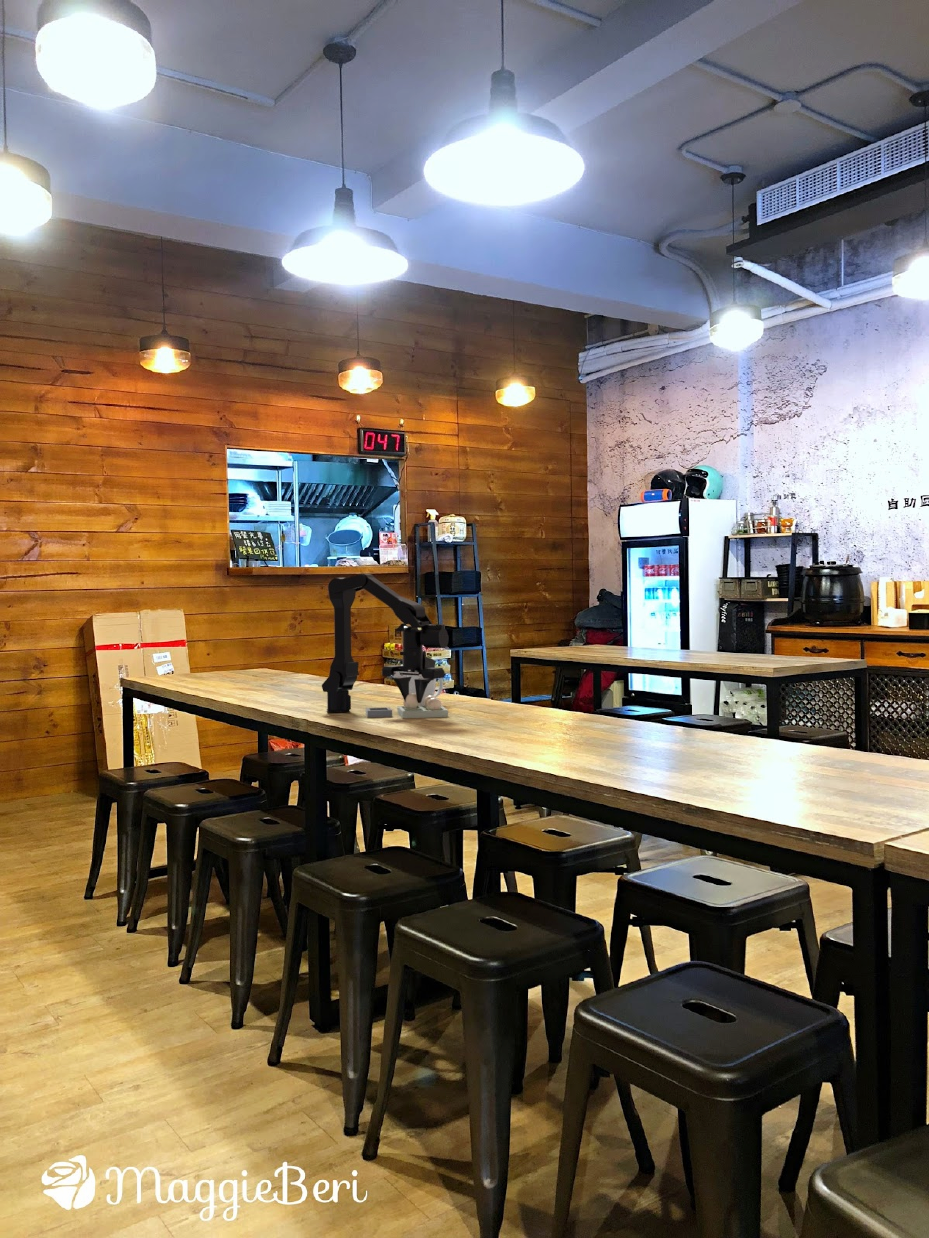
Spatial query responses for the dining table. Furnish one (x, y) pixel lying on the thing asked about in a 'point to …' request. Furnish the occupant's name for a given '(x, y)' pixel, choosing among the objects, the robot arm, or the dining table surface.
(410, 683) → the mug
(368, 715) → the dish
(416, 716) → the carton
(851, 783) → the dining table surface
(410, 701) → the egg
